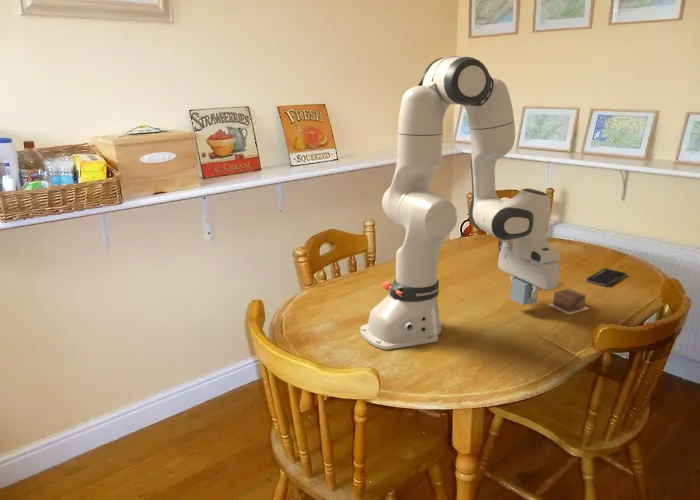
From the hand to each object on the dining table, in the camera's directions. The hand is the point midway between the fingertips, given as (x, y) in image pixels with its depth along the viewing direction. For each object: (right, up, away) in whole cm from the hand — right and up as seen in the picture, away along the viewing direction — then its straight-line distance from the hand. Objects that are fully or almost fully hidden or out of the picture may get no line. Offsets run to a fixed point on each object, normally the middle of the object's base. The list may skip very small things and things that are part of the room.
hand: (524, 294), depth 157 cm
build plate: (+14, -5, +5) cm, 16 cm away
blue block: (0, -2, +1) cm, 2 cm away
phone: (+36, +2, +28) cm, 46 cm away
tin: (+11, +9, +49) cm, 51 cm away
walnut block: (+14, -4, +4) cm, 15 cm away
